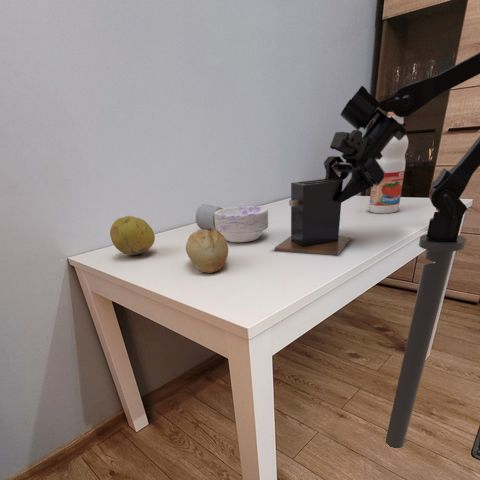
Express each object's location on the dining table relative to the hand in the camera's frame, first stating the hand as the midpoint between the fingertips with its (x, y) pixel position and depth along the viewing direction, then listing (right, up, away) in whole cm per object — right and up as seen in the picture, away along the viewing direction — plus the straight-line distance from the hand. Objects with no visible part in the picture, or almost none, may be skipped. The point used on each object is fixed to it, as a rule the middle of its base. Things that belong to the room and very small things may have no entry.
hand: (328, 199), depth 84 cm
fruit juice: (+27, +10, +32) cm, 43 cm away
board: (-3, -10, +4) cm, 11 cm away
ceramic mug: (-30, +3, +29) cm, 42 cm away
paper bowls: (-21, -5, +16) cm, 27 cm away
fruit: (-50, -11, +10) cm, 52 cm away
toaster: (-3, -9, +5) cm, 10 cm away
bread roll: (-29, -17, -2) cm, 34 cm away
